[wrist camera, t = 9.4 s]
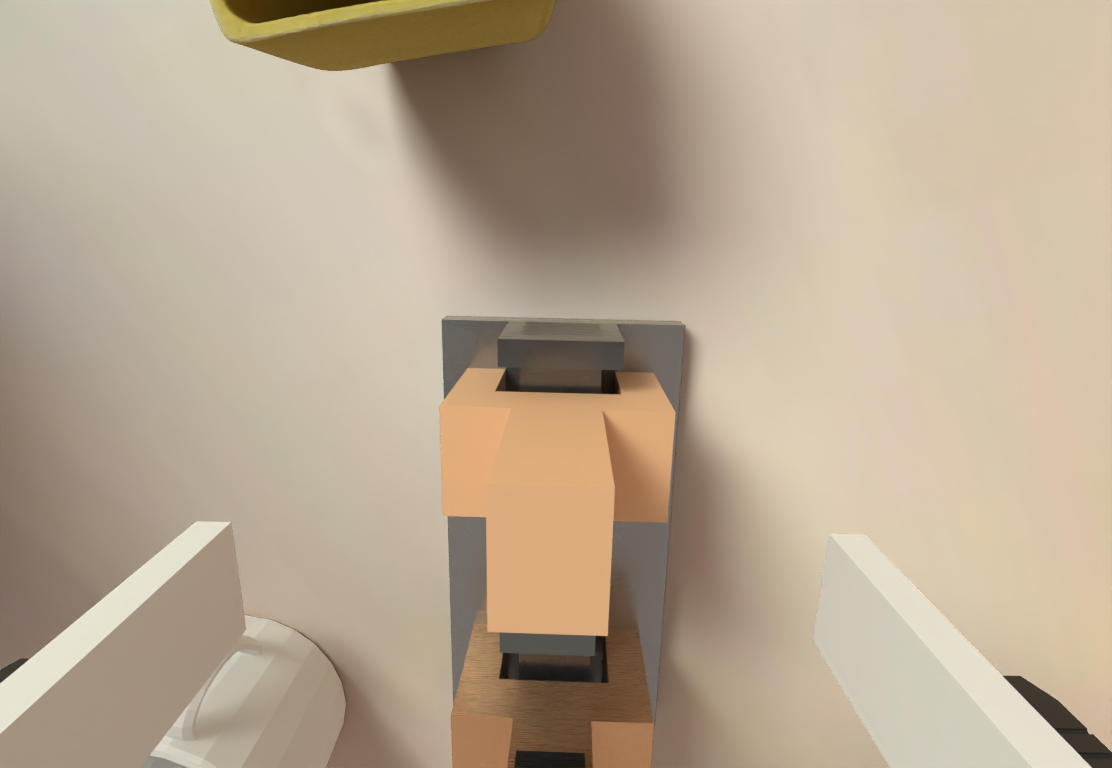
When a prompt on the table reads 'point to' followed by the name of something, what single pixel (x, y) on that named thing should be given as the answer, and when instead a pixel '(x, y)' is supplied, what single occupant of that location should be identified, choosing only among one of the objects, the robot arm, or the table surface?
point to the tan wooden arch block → (554, 496)
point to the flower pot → (376, 28)
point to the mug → (260, 707)
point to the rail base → (635, 586)
